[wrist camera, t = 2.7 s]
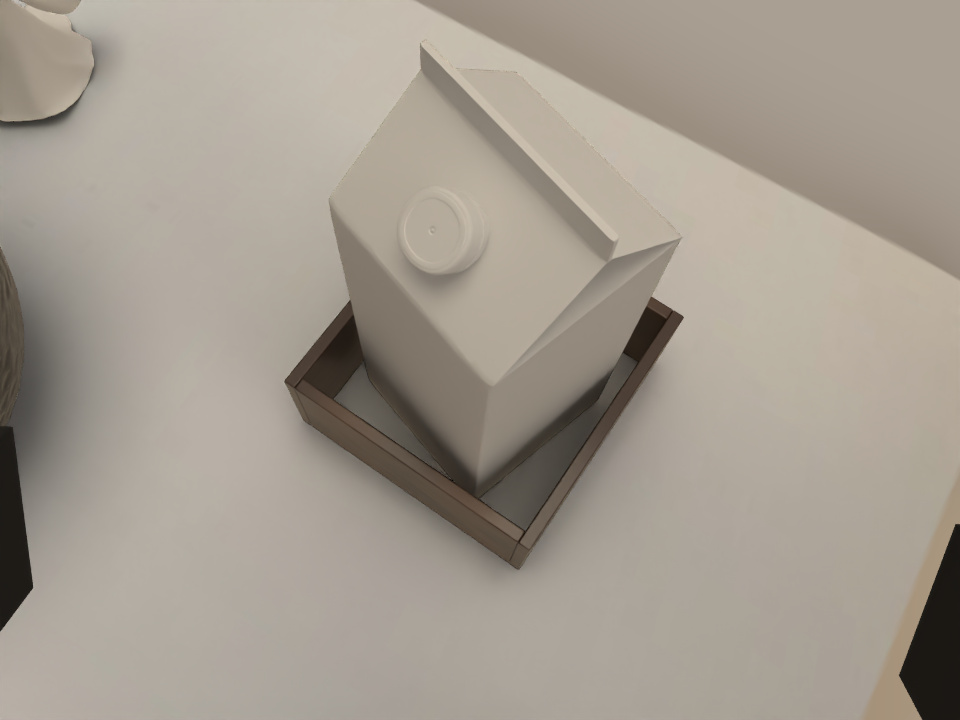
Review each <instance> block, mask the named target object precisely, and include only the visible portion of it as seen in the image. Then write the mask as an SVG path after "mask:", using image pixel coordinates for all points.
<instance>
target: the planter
mask: <svg viewBox="0 0 960 720" xmlns="http://www.w3.org/2000/svg"><path fill="white" fill-rule="evenodd" d="M23 363H24V325H23V318H22V312H21V307H20V302H19V297H18V292H17V288H16V285H15V282H14V279H13V276H12V274H11V271H10V269H9V266H8V264H7V261H6V259H5V256H4V254H3V252H2V249H1V247H0V426H6V424H7V422H8V420H9V418H10V416H11V413H12V410H13V407H14V404H15V401H16V398H17V395H18V391H19V388H20V381H21V375H22V369H23Z"/></svg>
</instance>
